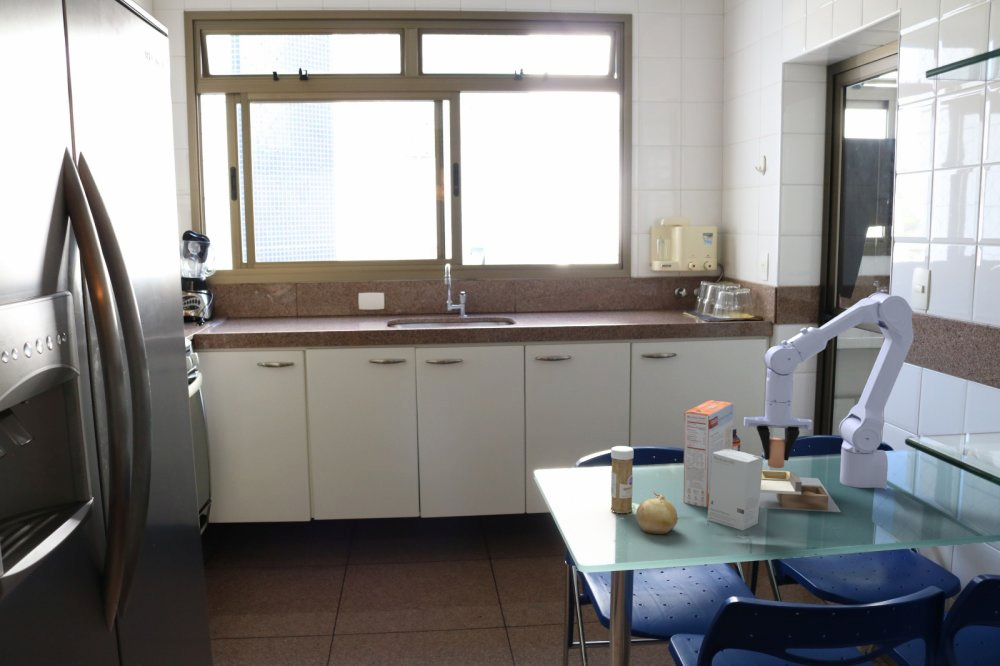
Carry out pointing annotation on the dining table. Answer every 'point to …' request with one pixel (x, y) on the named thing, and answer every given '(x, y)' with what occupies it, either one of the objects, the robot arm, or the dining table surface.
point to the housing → (805, 499)
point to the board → (770, 498)
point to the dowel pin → (776, 452)
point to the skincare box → (735, 488)
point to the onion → (656, 515)
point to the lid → (782, 485)
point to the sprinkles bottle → (621, 479)
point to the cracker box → (704, 446)
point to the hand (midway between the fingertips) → (776, 459)
